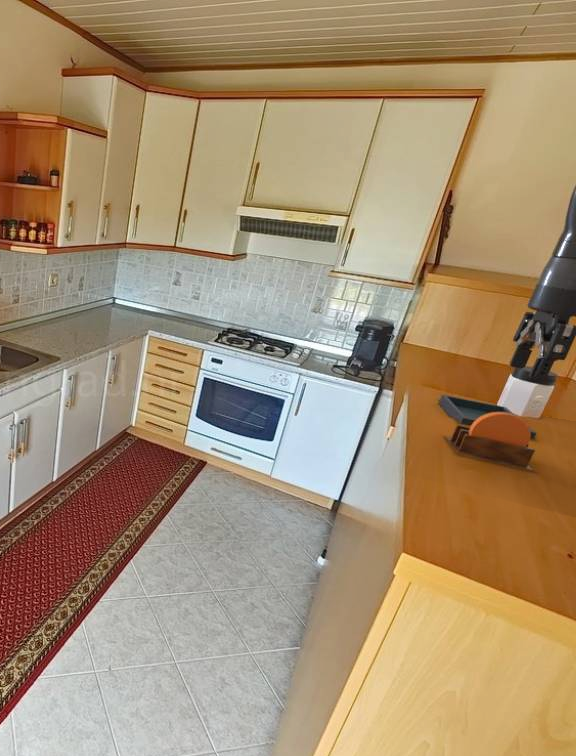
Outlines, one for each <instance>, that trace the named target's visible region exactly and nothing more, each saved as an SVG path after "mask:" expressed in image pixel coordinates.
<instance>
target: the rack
mask: <svg viewBox="0 0 576 756" xmlns="http://www.w3.org/2000/svg"><path fill="white" fill-rule="evenodd" d="M470 427H471V426H468V425H467V426H466V425H463V424H456V426H455V428H454V431H453V433H452V435H451V436H448V435H445V437H446V439H447V441H449V443H450V444H451V445H452V447H453V448H454V450H455V451H456V452H457V454H459V455H464V456H468V457H472V458H475V459H476V458H477V459H480V460H486V461H490V462H493V463H497V464H498V463H499V464H503V465H506V466H512V467H516V468H520V469H524V470H529V471H534V469H533V468H532V467H531V466H530V465H529V464H530V462H531V460H532V458H533V456H534V453H535V452H536V450H535V449H534V448H531V447H529V446H530V444H529V443H528V445H527V446H526V447H522V446H517V445H513V444H508V443H504V442H499V441H494V440H490V439H485V438H481V437H476V436H471V435H469V429H470Z"/></svg>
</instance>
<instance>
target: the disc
mask: <svg viewBox="0 0 576 756" xmlns="http://www.w3.org/2000/svg"><path fill="white" fill-rule="evenodd" d="M515 415H516V414H515ZM515 415H513V414H511V413H506V412H492V413H488V414H485V415H483V416H481V417H479V418H478V419H476V420H475V421H474V422H473V424H472V425H471V426H469V427H470V429H469V435H471V436H476V437H481V438H485V439H490V440H494V441H499V442H504V443H508V444H513V445H517V446H522V447H526V446H527V445H528V444H529V443H530V440H531V438H530V437H531V433H530V429H529V427H530V426H529V425H528V424H527V423H526V422H525V421H524V420H523V419H521V418H520V416H518V415H516V416H515ZM528 426H529V427H528Z"/></svg>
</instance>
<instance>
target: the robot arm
mask: <svg viewBox="0 0 576 756" xmlns="http://www.w3.org/2000/svg"><path fill="white" fill-rule="evenodd" d="M527 308H528V309H530V310H532V311H526V312H525V313H524V315H523V317H522V319H521V321H520V323H519V325H518V328H517V330H516V332H515V334H514V336H513V339H512V341H513V342H515V347H516V348H515V350H514V353H513V355H512V356H511V359H510V362H509V366H510V367H511V368H515V367H516V368H524V367H525V366H527V365H528V364H527V363H528V361H529V359H530V357H531V355H532V352H533V349H534V348H535V347H536V348H537V357H536V359H535V361H534V364H533V365H532V366H531V367H532V370H531V372H530V374H529V377H530V378H531V379H535V380H540V381H544V380H546V378H547V376H548V374H549V372H551V369H552V367H553V366H554V363H555V362H558V361H565V360H566V358H567V356H568V354H569V352H570V349H571V348H572V345H573V343H574V340H575V338H576V325H573V324H569V323H570V319H571V318H572V317H576V184H575V185H574V188H573V190H572V192H571V195H570V198H569V203H568V206H567V209H566V215H565V220H564V225H563V229H562V232H561V234H560V235H559V237H558V239H557V241H556V244H555V245H554V249H553V250H552V253H551V256H550V257H549V259H548V261H547V262H546V264H545V266H544V267H543V269H542V270H541V273H540V275H539V278H538V280H537V282H536V285H535V287H534V289H533V292H532V293H531V296H530V298H529V299H528V302H527ZM533 311H536V312H533Z"/></svg>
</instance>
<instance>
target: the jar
mask: <svg viewBox="0 0 576 756" xmlns="http://www.w3.org/2000/svg"><path fill="white" fill-rule="evenodd" d="M532 367H533V366H529V365H526V366H525V367H524V368H516V367H513V368H514V369H513V371H512V373H510V375H509V376H508V379H507V381H506V383H505V385H504V388H503V390H502V392H501V394H500V397H499V399H498V401H497V403H496V405H498V406H503V407H506V408H508V409H509V410H510V411H511V412H512V413H513V414H515V415H516V416H518V417H525V418H534V419H540V418H541V416H542V414H543V412H544V410H545V408H546V405H547V404H548V401H549V400H550V397H551V395H552V393H553V391H554V389H555V386H554V385H555V383H556V382H557V380H558V377H559V375H558V374H557V373H556V372H553V371H550V372H549V374H548V376H547V378H546V380H544V381H540V380H535V379H531V378H530V377H529V374H530V372H531V370H532Z"/></svg>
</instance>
